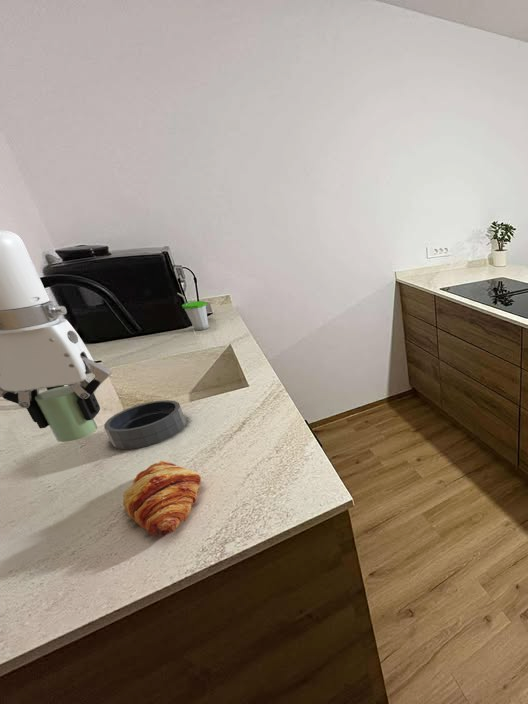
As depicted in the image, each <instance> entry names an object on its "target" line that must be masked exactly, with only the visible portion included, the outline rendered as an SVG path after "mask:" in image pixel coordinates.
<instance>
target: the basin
mask: <svg viewBox="0 0 528 704" xmlns="http://www.w3.org/2000/svg"><path fill="white" fill-rule="evenodd" d="M183 412H184V411H183V410H182V407H181V404H180V402H178V401H176V400H169V399H166V400H165V399H164V400H154V401H148V402H144V403H141V404H136V405H134V406H132V407H129V408H126V409H124V410H122V411H119V412H117V413H116V414H114V415H112V416H111V417H110V418H108V419H107V420H106V421H105V422H104V425H103V427H104V431H105V432H106V435H107V436H108V439H109V440H110V443H111V444H112V445H111V446H113V447H114V448H115V449H117V450H118V449H119V450H135V449H141V448H145V447H149V446H152V445H155V444H158V443H161V442H163V441H165V440H169V439H170V438H172V437H173V436H175V435H176V434H178V433H180V432H181V431H182V430H183V429H184V428H185V427H186V424H187V420H186V418H185V415H184V413H183Z"/></svg>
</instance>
